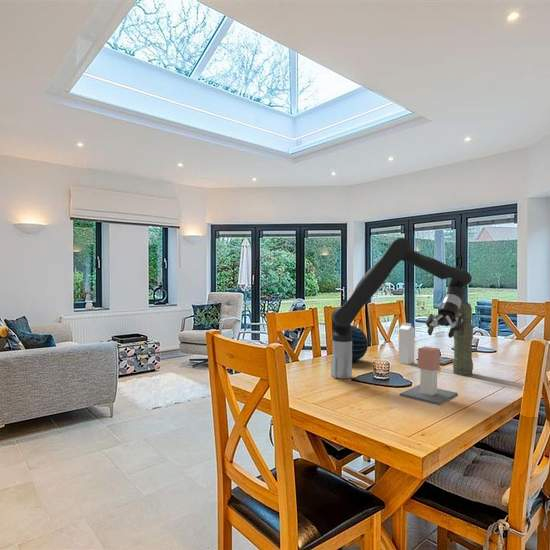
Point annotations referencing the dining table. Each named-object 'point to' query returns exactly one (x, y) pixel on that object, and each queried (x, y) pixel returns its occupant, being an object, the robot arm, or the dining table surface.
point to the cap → (429, 358)
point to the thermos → (463, 342)
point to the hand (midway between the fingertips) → (439, 335)
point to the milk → (406, 343)
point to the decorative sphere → (357, 343)
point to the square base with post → (428, 389)
